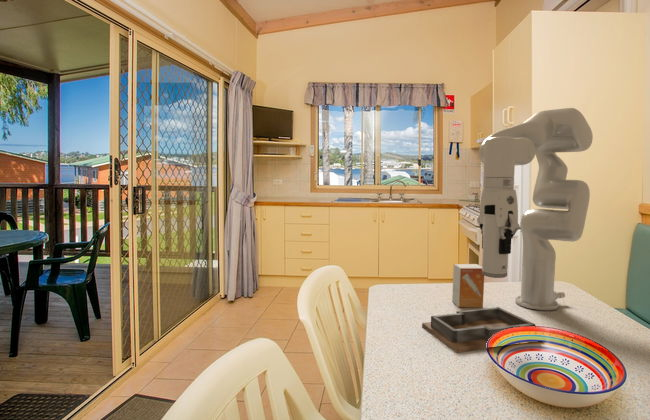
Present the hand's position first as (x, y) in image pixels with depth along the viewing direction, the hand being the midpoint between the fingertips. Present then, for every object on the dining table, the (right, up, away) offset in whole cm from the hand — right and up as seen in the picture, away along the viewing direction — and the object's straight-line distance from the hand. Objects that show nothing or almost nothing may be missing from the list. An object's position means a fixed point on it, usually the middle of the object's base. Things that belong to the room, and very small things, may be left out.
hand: (495, 250), depth 106 cm
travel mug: (0, -7, +1) cm, 7 cm away
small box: (+1, -21, +25) cm, 32 cm away
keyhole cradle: (-4, -22, 0) cm, 23 cm away
